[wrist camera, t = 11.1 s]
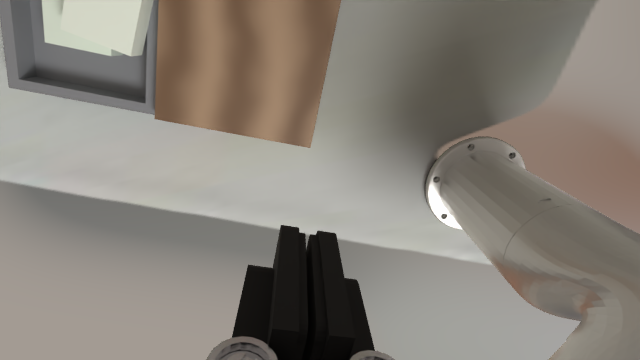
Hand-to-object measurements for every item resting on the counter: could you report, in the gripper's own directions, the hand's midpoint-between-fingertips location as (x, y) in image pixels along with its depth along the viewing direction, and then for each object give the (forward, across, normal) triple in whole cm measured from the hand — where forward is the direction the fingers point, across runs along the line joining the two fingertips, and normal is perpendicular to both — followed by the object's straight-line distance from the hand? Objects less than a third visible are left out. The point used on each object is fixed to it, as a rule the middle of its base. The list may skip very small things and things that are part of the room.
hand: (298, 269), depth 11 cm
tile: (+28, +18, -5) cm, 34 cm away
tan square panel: (+31, +6, -4) cm, 32 cm away
